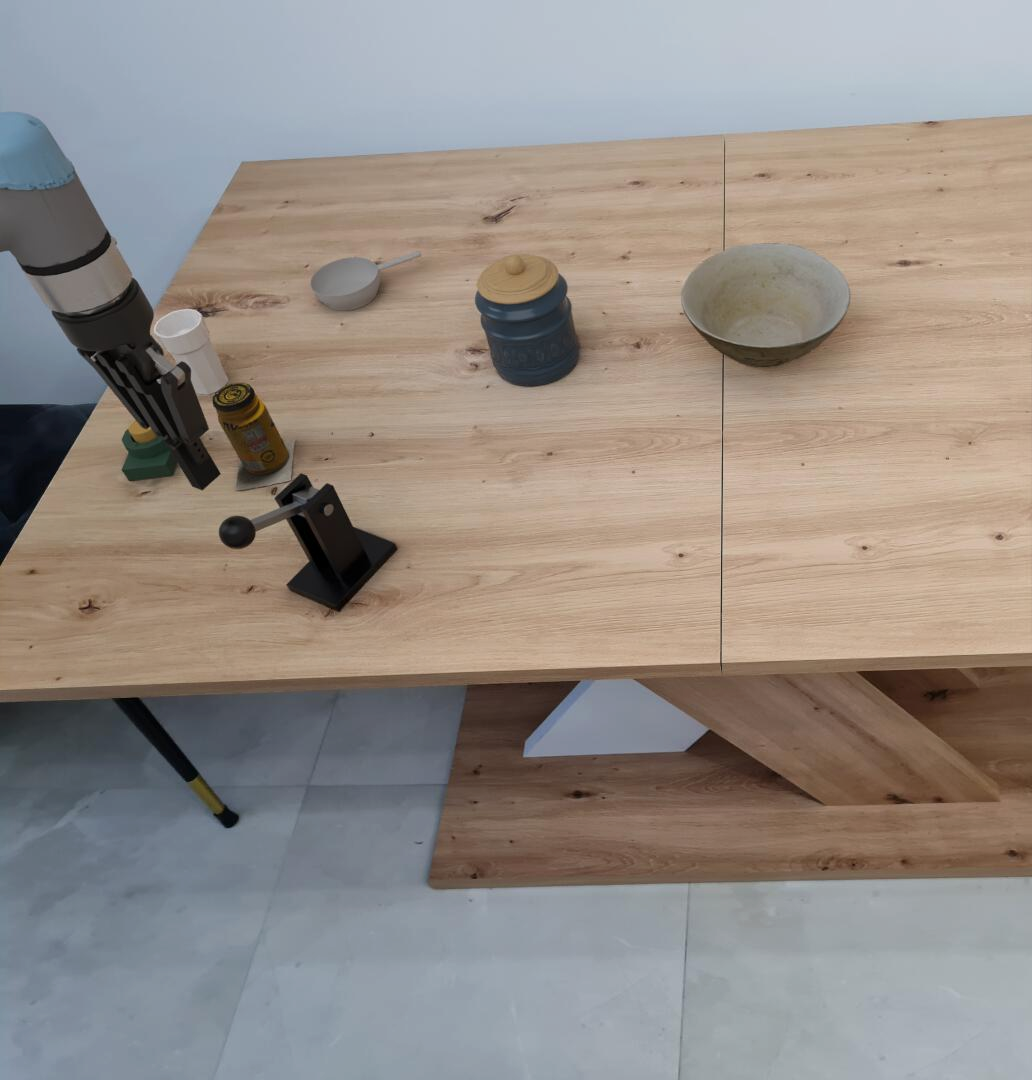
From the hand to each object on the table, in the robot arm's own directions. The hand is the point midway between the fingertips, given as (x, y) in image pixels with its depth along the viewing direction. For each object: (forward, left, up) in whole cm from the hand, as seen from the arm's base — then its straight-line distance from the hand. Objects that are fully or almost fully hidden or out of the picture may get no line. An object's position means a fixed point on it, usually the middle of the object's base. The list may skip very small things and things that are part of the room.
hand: (206, 480), depth 111 cm
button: (+13, +35, -17) cm, 42 cm away
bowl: (+67, -33, -21) cm, 78 cm away
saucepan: (+56, +33, -21) cm, 69 cm away
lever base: (+7, -4, -21) cm, 22 cm away
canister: (+51, -3, -21) cm, 56 cm away
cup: (+27, +40, -21) cm, 53 cm away
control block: (+13, +35, -21) cm, 43 cm away
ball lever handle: (+2, -3, -8) cm, 9 cm away
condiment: (+17, +19, -21) cm, 34 cm away
